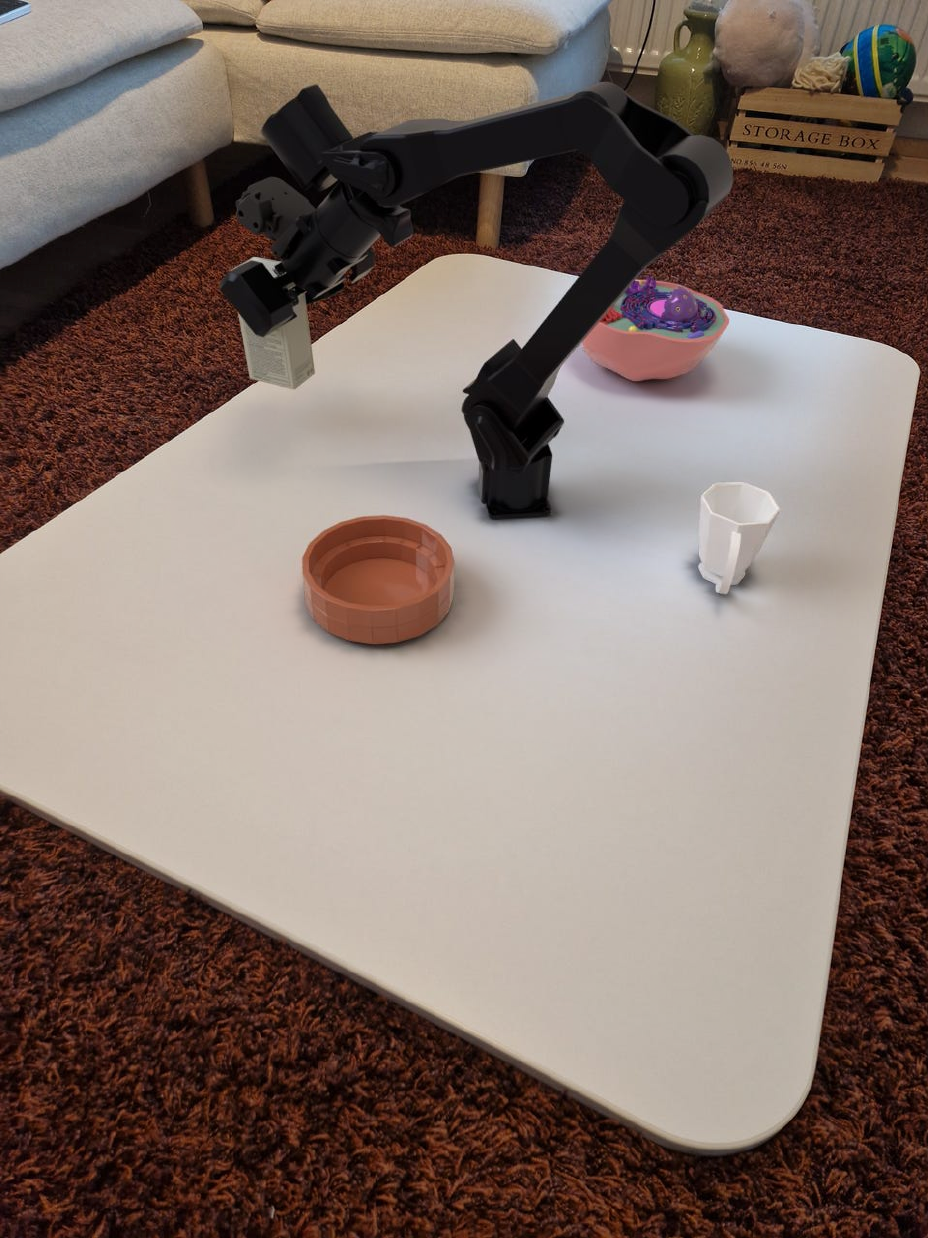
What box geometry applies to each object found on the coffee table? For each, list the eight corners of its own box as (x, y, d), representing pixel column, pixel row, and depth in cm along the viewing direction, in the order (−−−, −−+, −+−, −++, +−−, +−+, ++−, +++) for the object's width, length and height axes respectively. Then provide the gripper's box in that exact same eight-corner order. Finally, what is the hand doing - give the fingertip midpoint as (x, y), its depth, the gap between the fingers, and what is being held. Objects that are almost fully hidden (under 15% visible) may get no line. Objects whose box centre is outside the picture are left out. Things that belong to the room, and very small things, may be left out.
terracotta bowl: (443, 549, 89) (443, 511, 86) (461, 643, 79) (463, 604, 76) (305, 558, 87) (301, 519, 84) (307, 654, 78) (302, 615, 75)
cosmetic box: (316, 374, 102) (305, 265, 94) (293, 391, 99) (280, 280, 91) (269, 362, 104) (254, 254, 96) (245, 379, 101) (228, 268, 93)
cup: (759, 556, 89) (781, 487, 84) (756, 622, 82) (780, 552, 77) (687, 543, 91) (703, 474, 85) (678, 607, 83) (695, 537, 78)
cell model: (602, 324, 127) (613, 241, 119) (737, 367, 118) (758, 281, 111) (537, 370, 117) (544, 282, 109) (679, 420, 108) (698, 329, 101)
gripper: (343, 131, 91) (268, 225, 102) (218, 182, 78) (149, 283, 90) (413, 228, 93) (332, 309, 104) (303, 291, 81) (225, 376, 92)
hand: (263, 317), depth 98 cm, fingers closed on cosmetic box, 4 cm apart
